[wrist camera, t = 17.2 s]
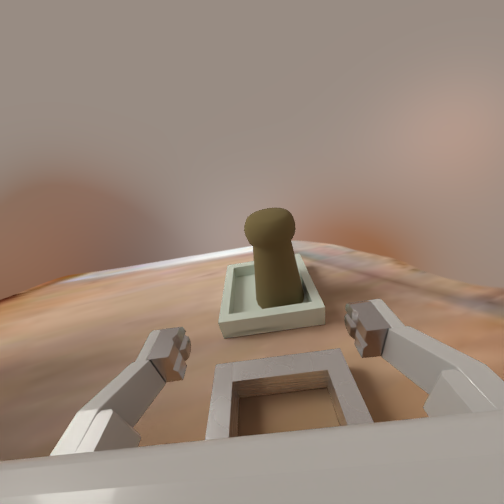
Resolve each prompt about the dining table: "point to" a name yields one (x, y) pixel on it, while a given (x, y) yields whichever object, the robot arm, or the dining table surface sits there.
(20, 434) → the dining table surface
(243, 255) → the dining table surface
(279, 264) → the cork
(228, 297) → the sage tray
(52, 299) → the dining table surface
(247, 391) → the grey square frame
